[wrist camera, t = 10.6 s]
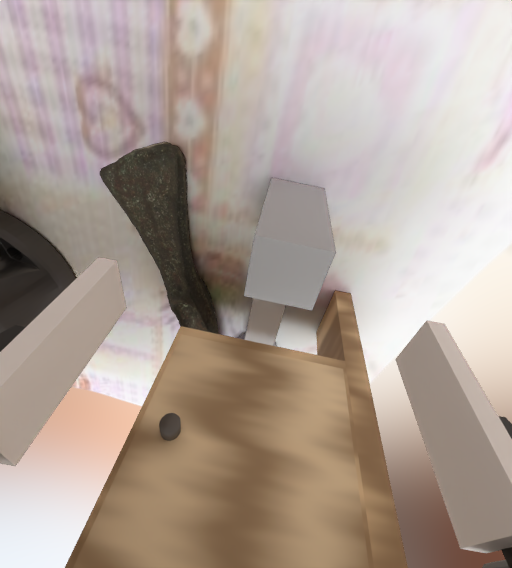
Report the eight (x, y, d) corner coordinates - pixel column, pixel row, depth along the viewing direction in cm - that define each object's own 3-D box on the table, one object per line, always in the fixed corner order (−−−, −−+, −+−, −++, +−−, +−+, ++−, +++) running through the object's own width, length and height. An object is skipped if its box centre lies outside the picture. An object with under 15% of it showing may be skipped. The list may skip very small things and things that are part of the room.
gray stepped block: (242, 328, 31) (224, 405, 24) (271, 177, 20) (254, 235, 13) (277, 336, 31) (269, 415, 24) (324, 188, 20) (335, 252, 13)
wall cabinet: (207, 308, 30) (75, 638, 12) (211, 253, 25) (10, 651, 8) (330, 334, 29) (365, 704, 12) (355, 284, 25) (468, 755, 8)
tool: (106, 158, 23) (77, 164, 20) (185, 135, 20) (164, 140, 18) (191, 342, 33) (179, 362, 30) (251, 343, 30) (243, 364, 28)
